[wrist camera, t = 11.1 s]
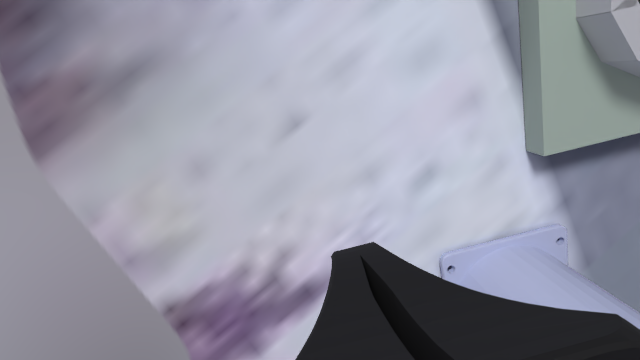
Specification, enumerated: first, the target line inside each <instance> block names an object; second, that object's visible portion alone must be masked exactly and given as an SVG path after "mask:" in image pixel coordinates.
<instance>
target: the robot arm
mask: <svg viewBox="0 0 640 360" xmlns="http://www.w3.org/2000/svg"><path fill="white" fill-rule="evenodd" d="M558 238H559V240H558V241H557V239H558ZM556 241H557V242H556ZM331 258H332V270H331V277H330V281H329V286H328V290H327V294H326V297H325V300H324V303H323V306H322V309H321V312H320V314H319V317H318V319H317V321H316V324H315V326H314V328H313V330H312V332H311V334H310V336H309V338H308V339H307V341H306V343H305V345H304V347H303V348H302V350H301V352H300V353H299V355H298V356H297V358H296V360H640V313H639V312H638V311H636V310H635V309H633V308H631V307H630V306H628V305H627V304H625V303H624V302H622V301H621V300H619V299H618V298H616V297H615V296H613V295H612V294H610V293H608V292H607V291H605V290H604V289H602V288H601V287H599V286H598V285H596V284H595V283H593V282H592V281H590V280H589V279H587V278H586V277H584V276H582V275H581V274H579V273H578V272H576V271H575V270H573V269H572V268H570V267H569V266H568V244H567V229H566V228H565V227H564V226H562V225H560V224H555V225H551V226H547V227H543V228H540V229H536V230H532V231H528V232H524V233H520V234H516V235H512V236H508V237H505V238H501V239H497V240H493V241H489V242H485V243H481V244H477V245H473V246H470V247H466V248H462V249H458V250H454V251H450V252H446V253H444V254H443V255H442V256H441V258H440V268H441V275H442V278H439V277H437V276H435V275H433V274H430V273H428V272H426V271H424V270H422V269H420V268H418V267H416V266H414V265H412V264H410V263H408V262H406V261H405V260H403V259H401V258H399V257H398V256H396V255H394V254H392V253H391V252H389V251H387V250H386V249H384V248H383V247H381V246H379V245H378V244H376V243H374V242H372V243H368V244H364V245H360V246H356V247H352V248H348V249H344V250H340V251H336V252H334V253H333V254H332V256H331ZM449 266H452V268H451V269H450V270H447V268H448V267H449Z"/></svg>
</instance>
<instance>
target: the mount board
mask: <svg viewBox="0 0 640 360" xmlns="http://www.w3.org/2000/svg"><path fill="white" fill-rule="evenodd" d="M518 1H519V21H520V41H521V60H522V80H523V100H524V119H525V139H526V151H528V152H531V153H535V154H538V155H541V156H548V155H552V154H556V153H560V152H564V151H568V150H572V149H576V148H580V147H584V146H588V145H592V144H596V143H601V142H605V141H609V140H613V139H617V138H621V137H625V136H629V135H633V134H637V133H640V4H639V2H638V0H518Z"/></svg>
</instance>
